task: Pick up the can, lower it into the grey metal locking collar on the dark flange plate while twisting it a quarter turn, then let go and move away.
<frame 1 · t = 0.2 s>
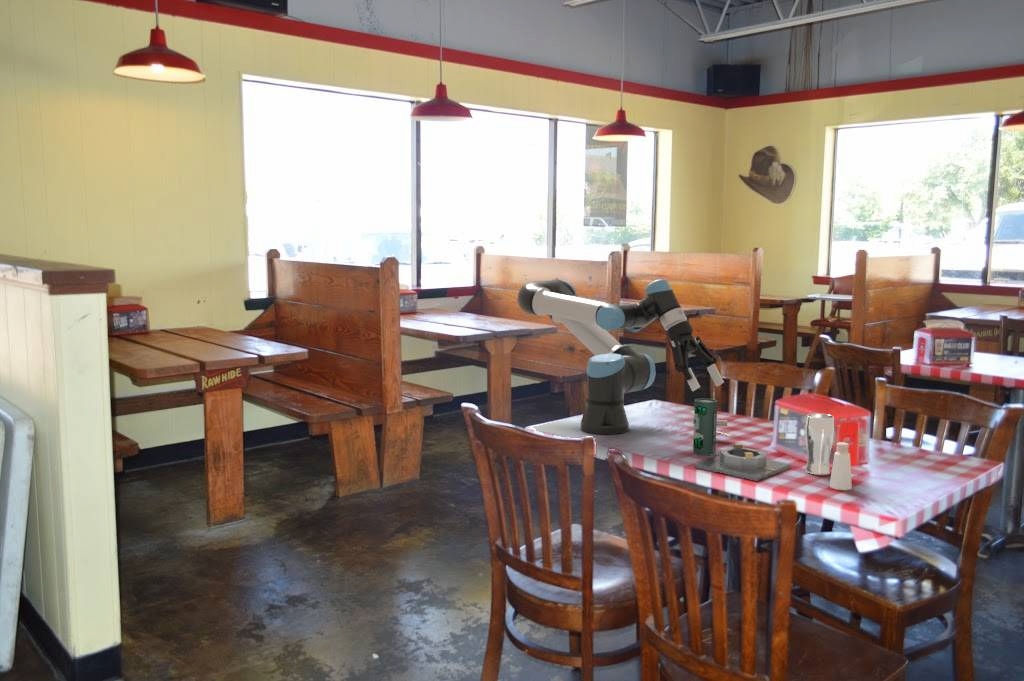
hand: (708, 386, 260), 16 cm above the table, tool tilted 35°, fingers open, 13 cm apart
pepper shaker: (840, 488, 211), on the table
pipe connector: (709, 439, 261), on the table
beer glass: (817, 473, 224), on the table
butter knife: (700, 429, 276), on the table
collar: (742, 467, 228), on the table
can: (704, 453, 244), on the table
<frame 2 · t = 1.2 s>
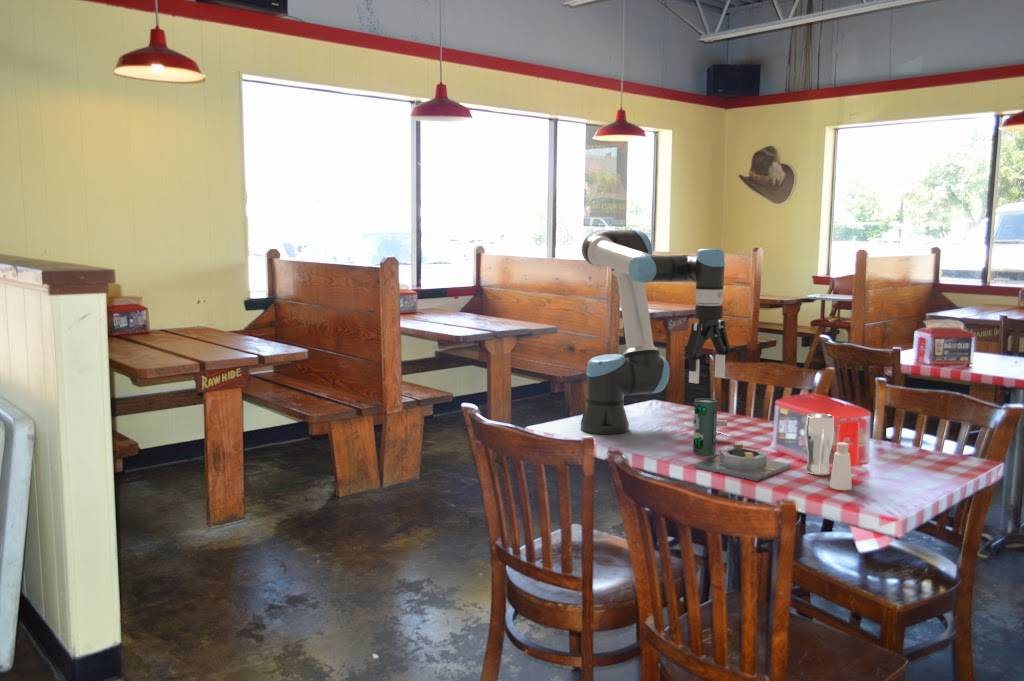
hand: (706, 380, 242), 21 cm above the table, tool pointing down, fingers open, 13 cm apart
nothing on the table moved.
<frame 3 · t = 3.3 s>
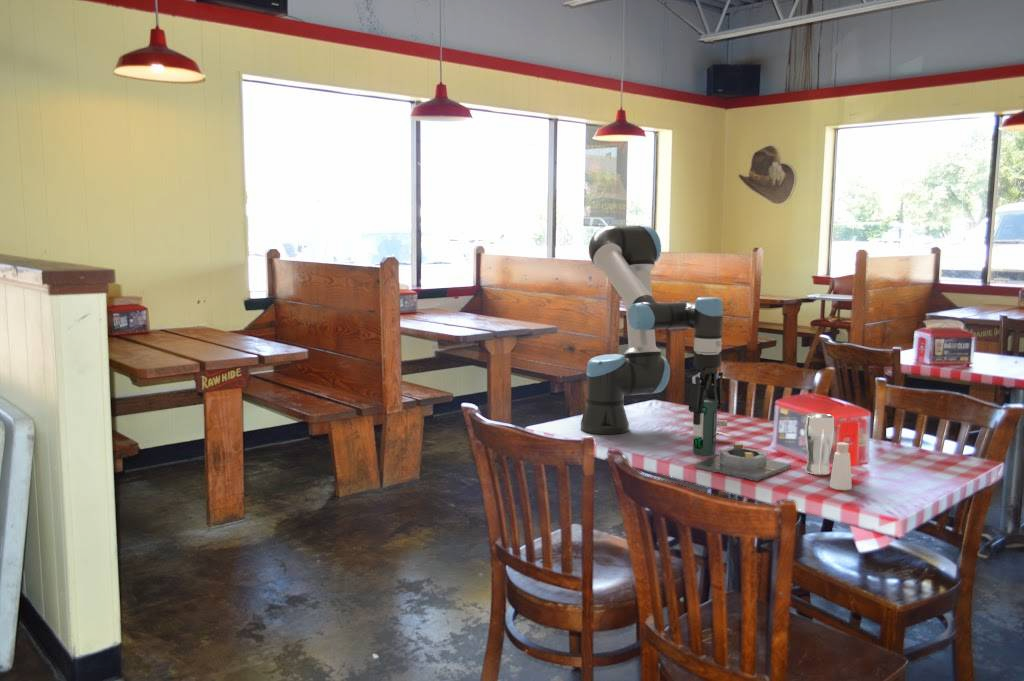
hand: (704, 433, 243), 5 cm above the table, tool pointing down, fingers closed on can, 6 cm apart
can: (704, 453, 244), on the table, touching gripper
everything else where it was.
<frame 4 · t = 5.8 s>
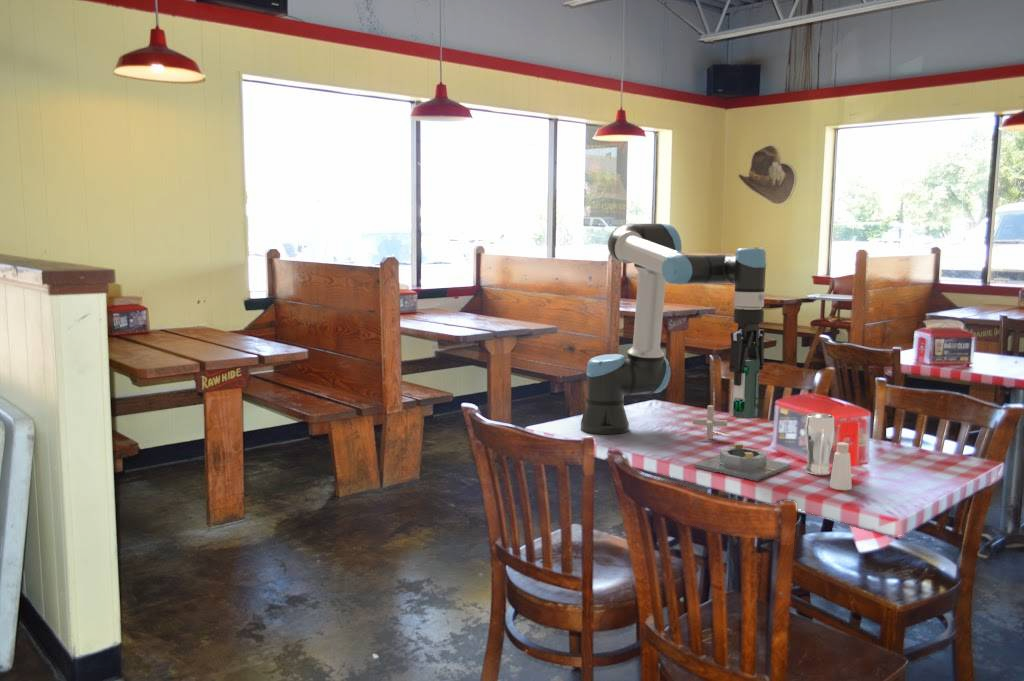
hand: (745, 395, 226), 19 cm above the table, tool pointing down, fingers closed on can, 6 cm apart
can: (745, 416, 226), point 14 cm above the table, touching gripper
everything else where it was.
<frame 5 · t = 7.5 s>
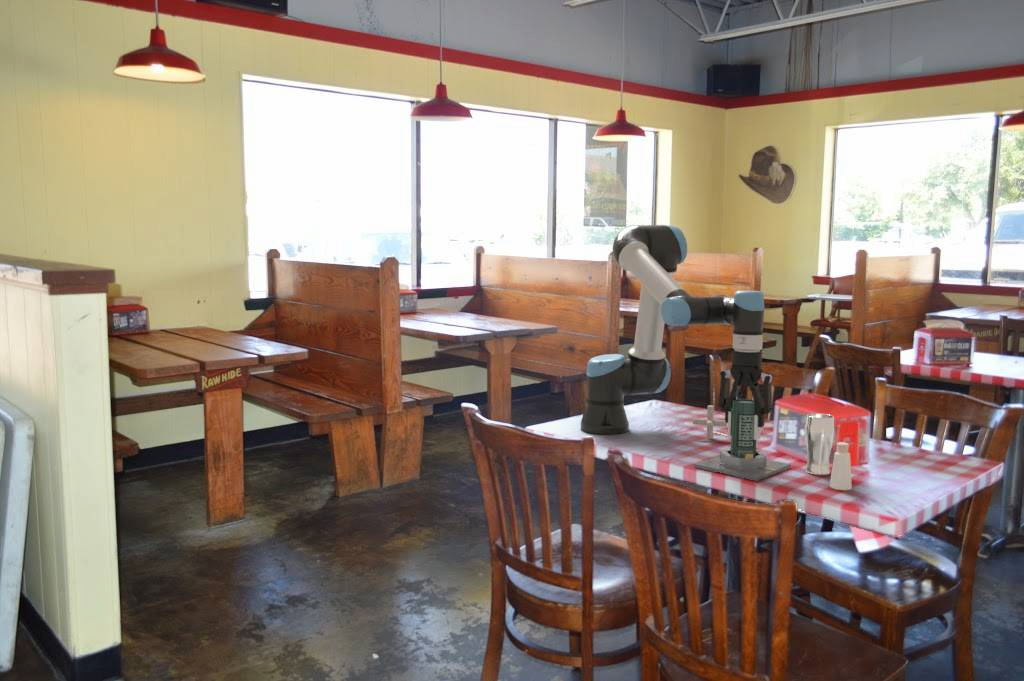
hand: (743, 436, 227), 8 cm above the table, tool pointing down, fingers closed on can, 6 cm apart
can: (743, 457, 228), point 3 cm above the table, touching gripper
when the fingers open (7 cm above the table, at t = 8.6 s): can stays where it is, resting on collar.
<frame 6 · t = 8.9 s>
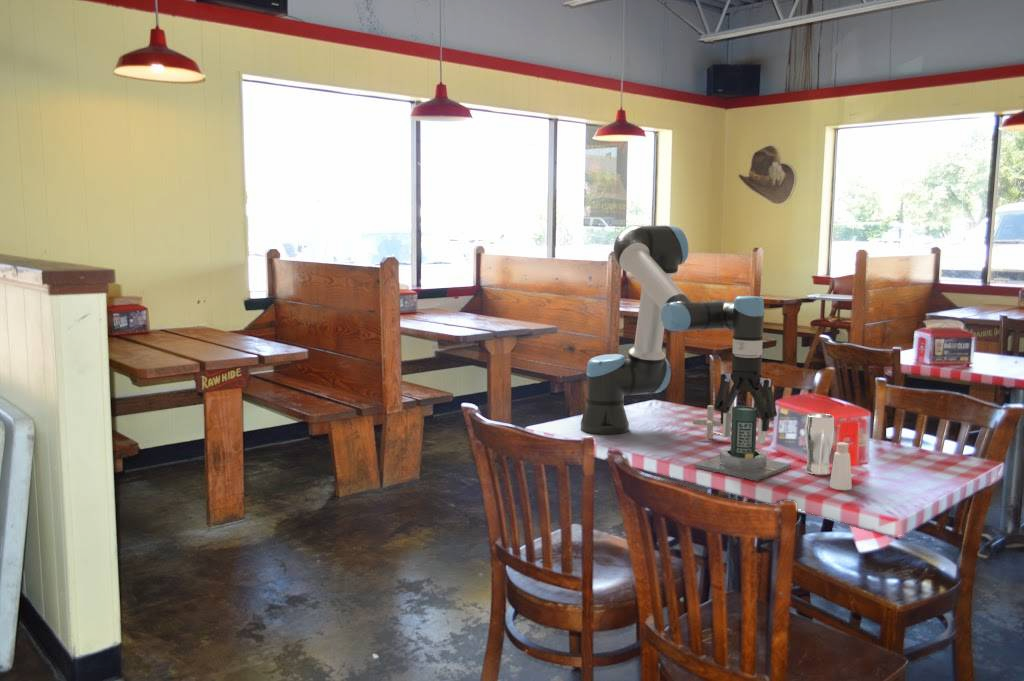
hand: (743, 439, 227), 8 cm above the table, tool pointing down, fingers open, 9 cm apart
can: (742, 464, 228), point 1 cm above the table, touching collar
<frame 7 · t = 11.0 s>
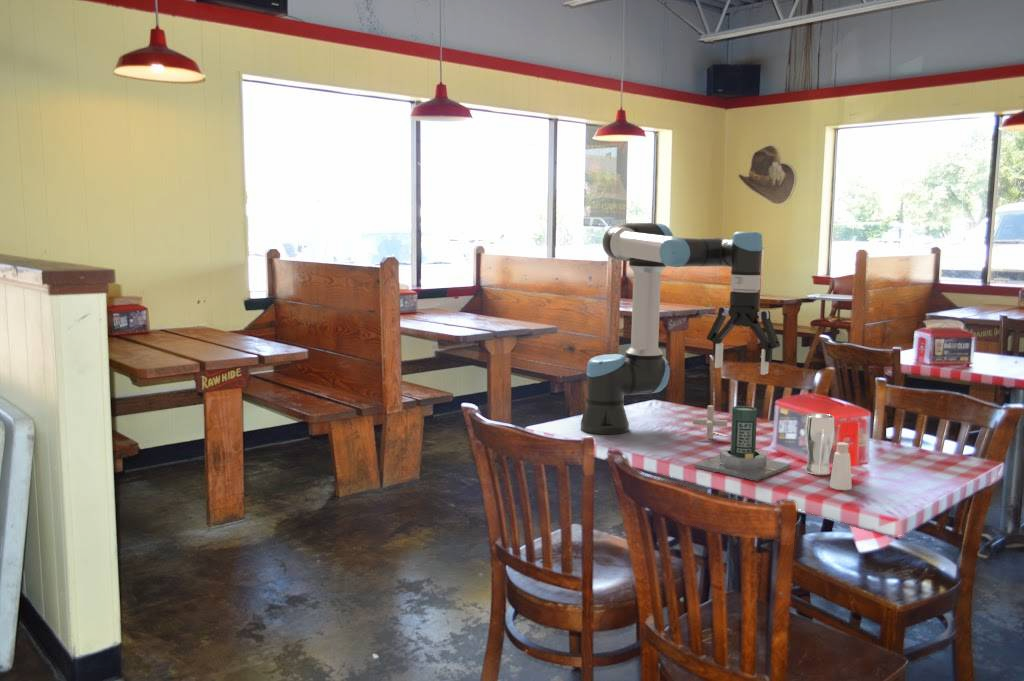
hand: (740, 370, 229), 25 cm above the table, tool pointing down, fingers open, 13 cm apart
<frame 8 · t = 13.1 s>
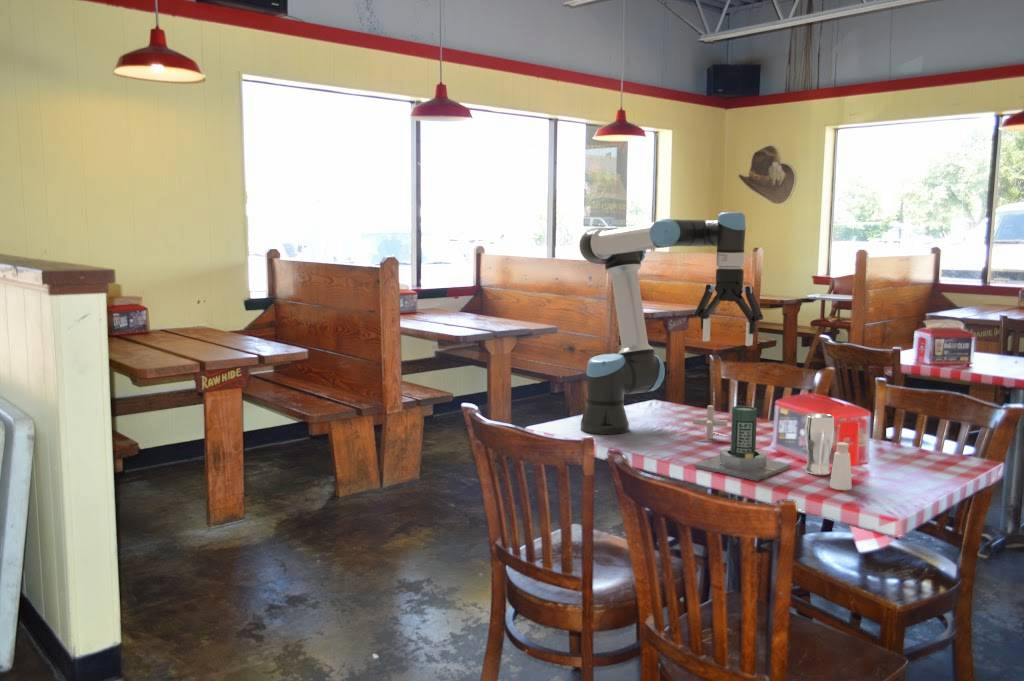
hand: (727, 343, 244), 31 cm above the table, tool pointing down, fingers open, 13 cm apart
at the end: can 0.1 cm off-centre on the collar, point 0.8 cm above the collar's base; can tilted 0°; the gripper is holding nothing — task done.
